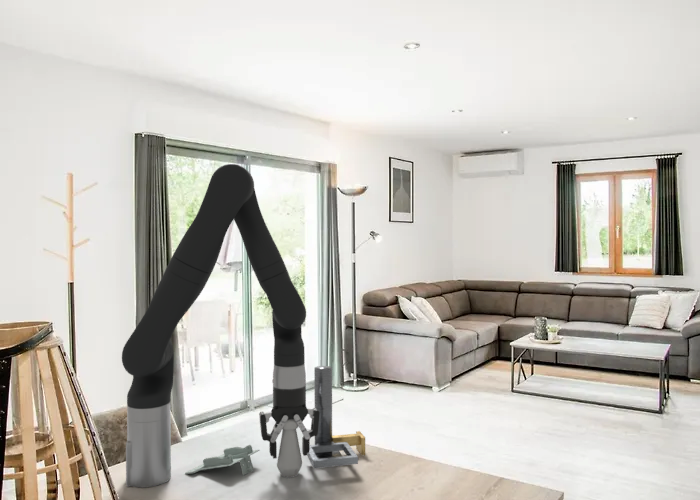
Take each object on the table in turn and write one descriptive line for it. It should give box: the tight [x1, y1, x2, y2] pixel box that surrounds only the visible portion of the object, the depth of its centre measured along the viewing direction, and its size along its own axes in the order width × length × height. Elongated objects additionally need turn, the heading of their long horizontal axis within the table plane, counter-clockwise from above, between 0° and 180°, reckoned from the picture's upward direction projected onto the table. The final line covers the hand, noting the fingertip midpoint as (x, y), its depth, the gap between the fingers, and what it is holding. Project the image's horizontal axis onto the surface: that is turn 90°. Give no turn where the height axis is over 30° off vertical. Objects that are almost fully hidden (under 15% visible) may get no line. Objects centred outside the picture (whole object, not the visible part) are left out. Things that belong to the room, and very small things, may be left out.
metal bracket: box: [184, 444, 261, 476], centre depth 137 cm, size 14×6×15 cm
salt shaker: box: [276, 419, 303, 479], centre depth 133 cm, size 6×6×13 cm
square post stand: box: [306, 365, 366, 469], centre depth 141 cm, size 15×18×22 cm
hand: (289, 455), depth 133 cm, fingers open, 6 cm apart
